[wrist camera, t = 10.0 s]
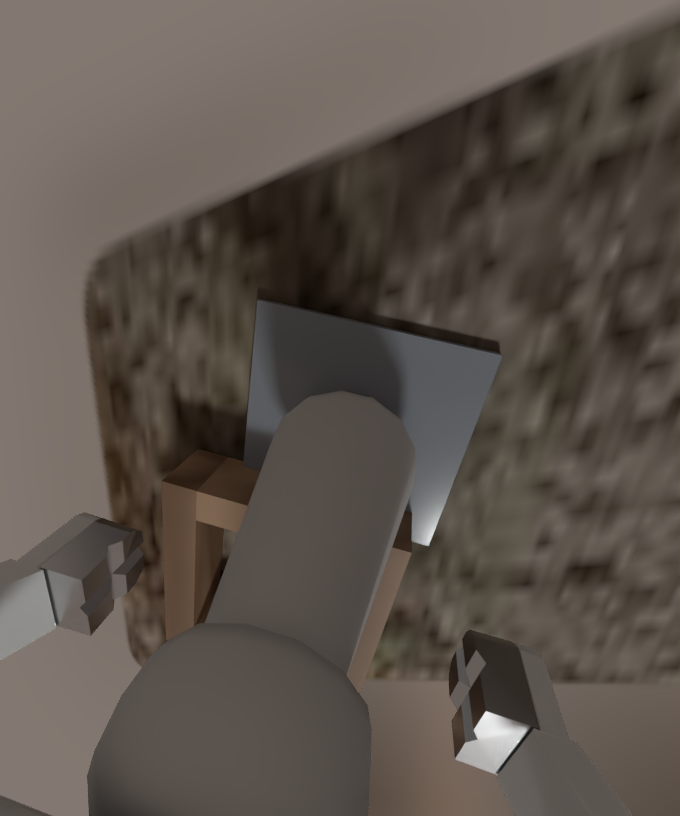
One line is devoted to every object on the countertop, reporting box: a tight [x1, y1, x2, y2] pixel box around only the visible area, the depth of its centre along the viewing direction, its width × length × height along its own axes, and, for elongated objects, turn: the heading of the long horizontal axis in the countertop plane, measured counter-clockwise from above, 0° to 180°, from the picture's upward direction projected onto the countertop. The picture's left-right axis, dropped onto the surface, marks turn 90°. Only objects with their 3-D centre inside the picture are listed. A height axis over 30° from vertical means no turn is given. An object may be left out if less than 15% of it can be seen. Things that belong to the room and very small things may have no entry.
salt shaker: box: [87, 391, 416, 816], centre depth 11 cm, size 6×6×13 cm
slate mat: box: [243, 299, 503, 546], centre depth 17 cm, size 10×10×1 cm
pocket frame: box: [162, 449, 412, 694], centre depth 19 cm, size 11×11×3 cm
